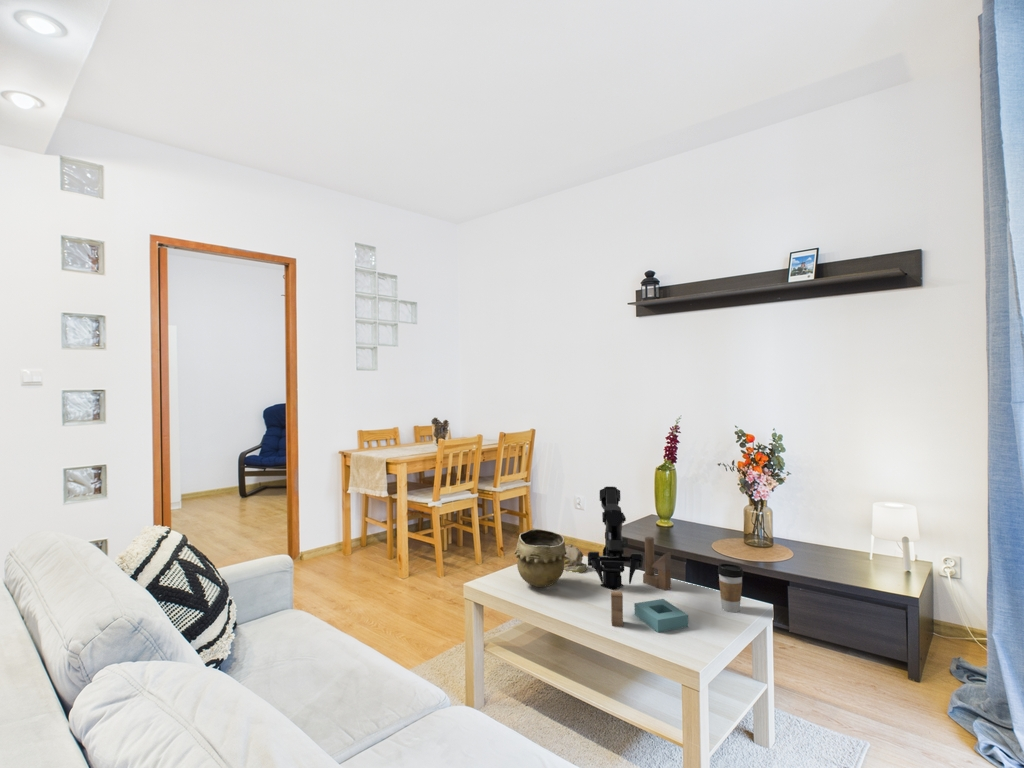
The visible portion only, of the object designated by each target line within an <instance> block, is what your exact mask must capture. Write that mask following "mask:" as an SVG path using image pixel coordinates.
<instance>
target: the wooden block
mask: <svg viewBox="0 0 1024 768" xmlns="http://www.w3.org/2000/svg"><path fill="white" fill-rule="evenodd" d="M671 554H672V553H671V551H669V552H666V553H664V554H663V555H662V556H660V558H658V559H657V560H656V561H655V538H654V537H653V536H646V537H644V573H643V574H642V583H644V584H646V585H650V586H653V587H655V588H658V589H660V588H661V590H663V589H664V591H667V590H670V589H671V588H672V573H671V572H672V571H671V569H672V555H671ZM655 570H658V571H657V572H658V573H657V574H656V573H655Z"/></svg>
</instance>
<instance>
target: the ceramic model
mask: <svg viewBox="0 0 1024 768" xmlns="http://www.w3.org/2000/svg"><path fill="white" fill-rule="evenodd" d="M565 548H566V552H567V554H566V555H565V556H566V557H565V558H564V570H566V571H565V572H569V571H572V572H571V573H576V572H579V573H583V572H585V571H586V570H587V567H588V563H583V557H584V554H583V551H582V550H580V549H579V548H578V547H576V546H573V544H570V543H569V544H568V545H566V544H565ZM582 571H583V572H582Z"/></svg>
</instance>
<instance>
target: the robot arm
mask: <svg viewBox="0 0 1024 768" xmlns="http://www.w3.org/2000/svg"><path fill="white" fill-rule="evenodd" d="M599 501H600V502H601V504H600V505H601V508H602V510H603V511H601V512H602V513H601V514H602V515H601V517H602V519H601V520H602V523H604V524H603V525H604V526H605V546H604V547H603V550H602V555H600V552H599V551H588V553H587V567H588V566H589V567H591V568H592V569H594V570H595V572H596V573H597V575H598V577H599V580H600V582H601V584H600V587H603V588H606V589H610V590H611V591H616V590H617V589H620V588H623V586H624V584H623V583H622V577H623V576H622V573H624V572H625V565H626V564H625V563H629V573H628V584H629V585H631V583H632V579H633V576H634V574H635V572H636V571H637V570H639V568H643V563H644V555H643V554H642V553H641V552H630V555H629V556H624V553H625V552H624V549H628V548H629V539H628V538H626V537H625V538H624V537H623V536H622V535H623V534H622V530H623V524H624V523H625V522H626V521H627V518H626V516H625V514H624V512H623V511H622V508H621V507H620V506H619V504H620V503H619V502H621V490H619V489H618V488H617V487H616V486H604V488H601V489H599Z"/></svg>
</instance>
